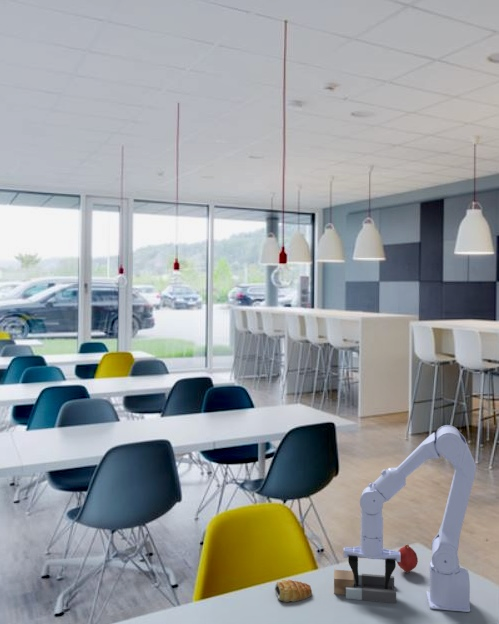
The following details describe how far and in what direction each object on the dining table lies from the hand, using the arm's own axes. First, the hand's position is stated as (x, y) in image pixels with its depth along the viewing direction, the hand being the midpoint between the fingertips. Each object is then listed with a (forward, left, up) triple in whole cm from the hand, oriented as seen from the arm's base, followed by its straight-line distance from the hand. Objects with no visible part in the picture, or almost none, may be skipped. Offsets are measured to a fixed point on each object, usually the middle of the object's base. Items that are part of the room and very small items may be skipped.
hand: (371, 585), depth 151 cm
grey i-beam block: (0, 0, -2) cm, 2 cm away
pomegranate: (-10, -13, -2) cm, 16 cm away
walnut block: (+7, 0, -2) cm, 7 cm away
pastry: (+20, +5, -2) cm, 21 cm away
